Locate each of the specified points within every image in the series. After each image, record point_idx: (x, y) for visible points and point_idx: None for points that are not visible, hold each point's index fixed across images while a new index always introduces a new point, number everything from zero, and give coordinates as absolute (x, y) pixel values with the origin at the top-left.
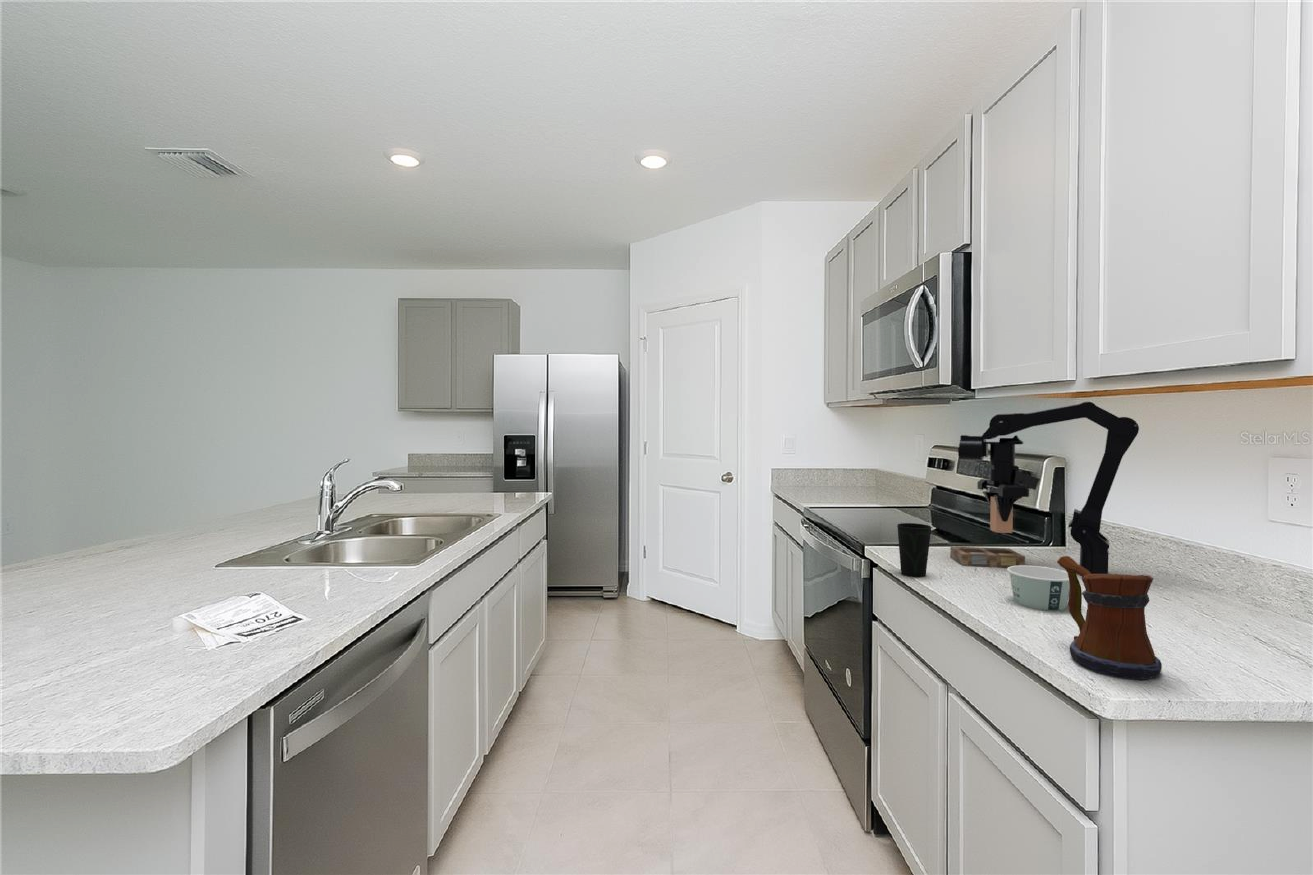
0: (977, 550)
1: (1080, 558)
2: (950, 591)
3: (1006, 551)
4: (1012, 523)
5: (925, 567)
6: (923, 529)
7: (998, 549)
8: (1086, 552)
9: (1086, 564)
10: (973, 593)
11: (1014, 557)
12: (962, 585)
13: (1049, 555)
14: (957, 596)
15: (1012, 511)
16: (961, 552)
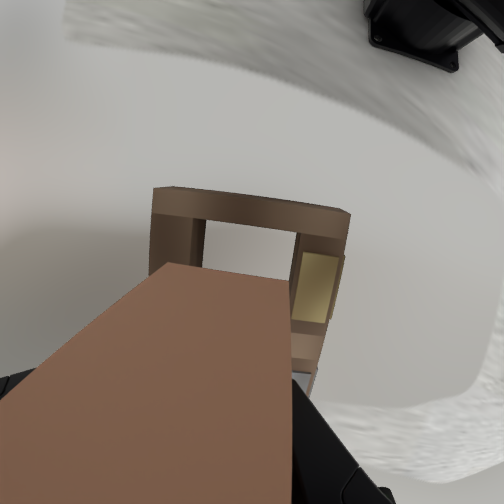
0: None
1: (431, 29)
2: (477, 462)
3: (194, 221)
4: (288, 314)
5: (394, 502)
6: None
7: (180, 255)
8: (475, 25)
9: (452, 42)
10: (499, 436)
11: (340, 261)
12: (462, 446)
13: (107, 9)
14: (497, 455)
15: (290, 403)
16: None
